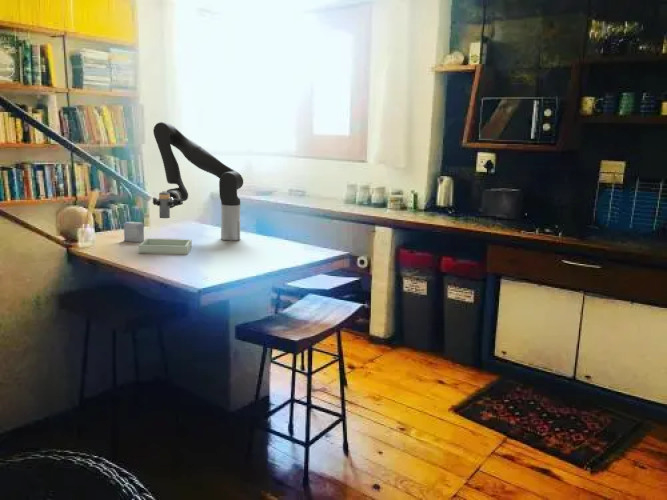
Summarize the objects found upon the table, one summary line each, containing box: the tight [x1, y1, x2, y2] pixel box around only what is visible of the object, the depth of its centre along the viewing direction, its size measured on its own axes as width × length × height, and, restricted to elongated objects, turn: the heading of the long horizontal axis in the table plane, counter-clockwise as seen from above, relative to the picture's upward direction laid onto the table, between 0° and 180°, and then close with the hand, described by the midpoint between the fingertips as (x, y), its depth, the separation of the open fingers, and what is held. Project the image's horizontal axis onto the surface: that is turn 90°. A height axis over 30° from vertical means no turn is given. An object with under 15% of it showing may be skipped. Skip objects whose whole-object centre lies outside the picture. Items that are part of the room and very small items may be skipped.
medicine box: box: [123, 221, 145, 243], centre depth 263 cm, size 8×4×9 cm, turn 74°
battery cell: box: [158, 190, 171, 219], centre depth 249 cm, size 4×4×12 cm
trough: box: [138, 238, 193, 255], centre depth 247 cm, size 20×15×4 cm
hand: (163, 203), depth 247 cm, fingers closed on battery cell, 4 cm apart
